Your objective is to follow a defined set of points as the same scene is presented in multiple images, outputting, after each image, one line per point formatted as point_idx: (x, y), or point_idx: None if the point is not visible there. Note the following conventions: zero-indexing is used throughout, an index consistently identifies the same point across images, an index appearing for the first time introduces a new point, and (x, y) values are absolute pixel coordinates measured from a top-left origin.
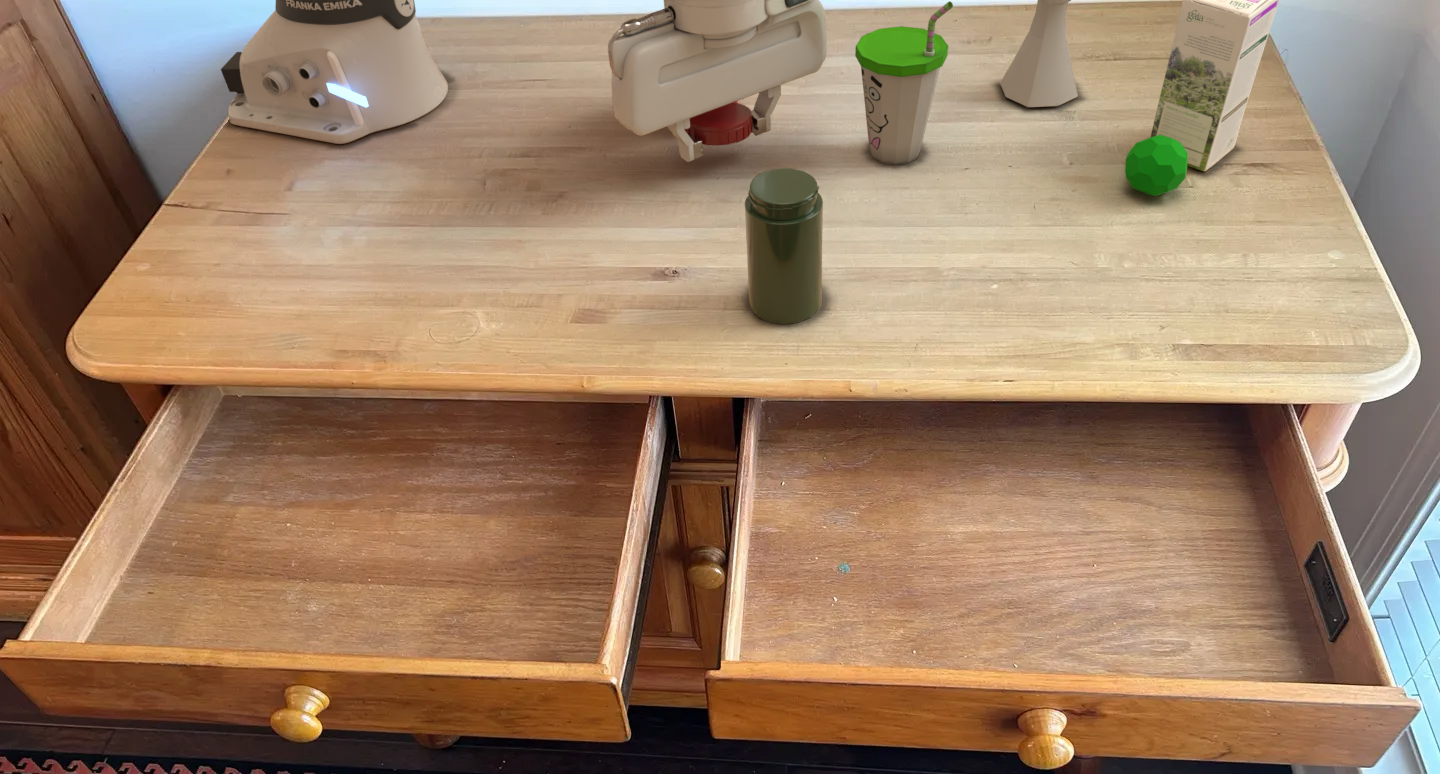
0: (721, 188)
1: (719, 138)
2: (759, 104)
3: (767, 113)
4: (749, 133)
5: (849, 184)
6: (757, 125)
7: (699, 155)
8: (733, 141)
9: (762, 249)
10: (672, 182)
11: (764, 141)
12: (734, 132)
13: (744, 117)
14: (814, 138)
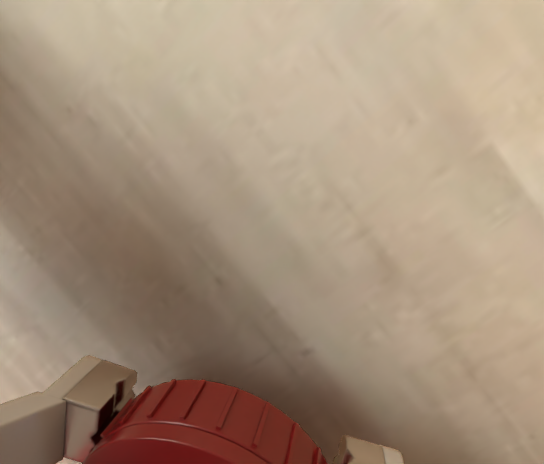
0: (339, 316)
1: (293, 448)
2: (31, 459)
3: (46, 403)
4: (169, 385)
5: (85, 35)
6: (113, 393)
7: (362, 444)
8: (250, 399)
9: None
10: (395, 431)
11: None
12: (232, 426)
13: (139, 454)
14: (9, 273)
